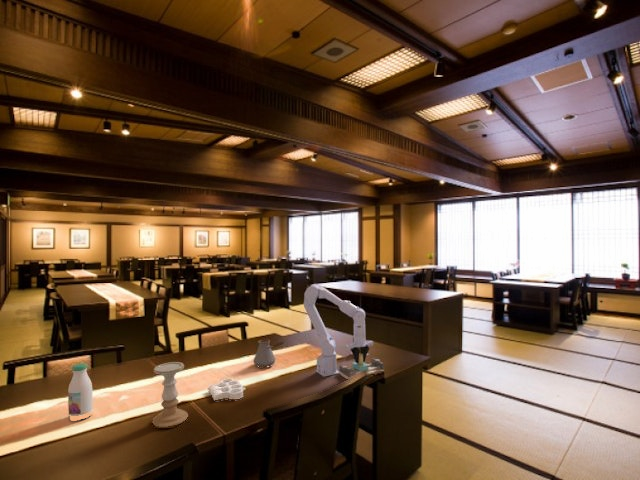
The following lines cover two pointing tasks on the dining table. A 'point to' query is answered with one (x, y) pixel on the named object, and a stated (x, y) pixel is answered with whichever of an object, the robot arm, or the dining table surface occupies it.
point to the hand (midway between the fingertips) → (360, 362)
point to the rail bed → (373, 368)
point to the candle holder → (169, 396)
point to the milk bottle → (80, 391)
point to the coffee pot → (265, 354)
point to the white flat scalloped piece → (227, 389)
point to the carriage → (360, 364)
